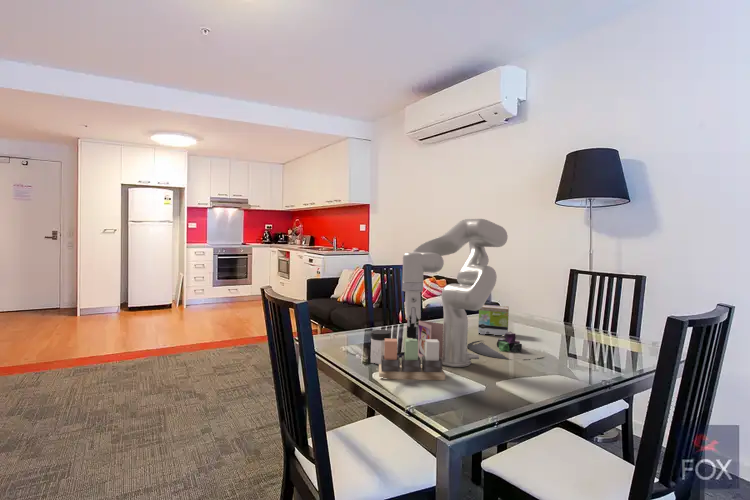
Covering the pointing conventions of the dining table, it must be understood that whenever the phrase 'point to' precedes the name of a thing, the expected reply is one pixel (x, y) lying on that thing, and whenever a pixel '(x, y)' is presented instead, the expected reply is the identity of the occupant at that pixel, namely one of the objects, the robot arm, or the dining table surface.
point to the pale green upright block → (411, 349)
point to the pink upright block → (390, 349)
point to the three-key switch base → (411, 369)
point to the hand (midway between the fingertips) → (411, 337)
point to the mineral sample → (503, 344)
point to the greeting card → (429, 336)
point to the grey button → (431, 350)
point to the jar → (378, 344)
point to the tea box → (493, 320)
